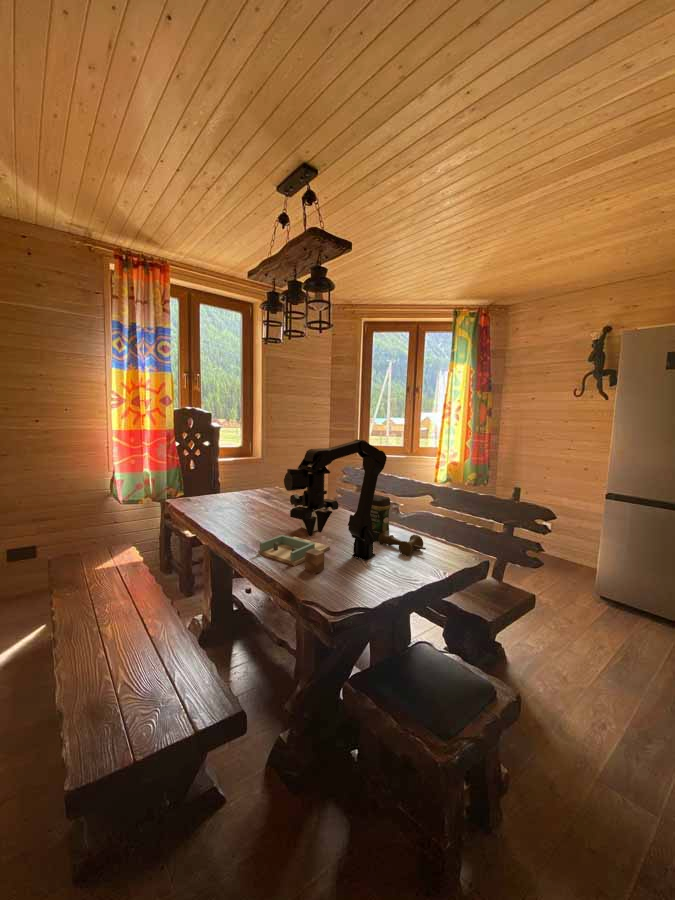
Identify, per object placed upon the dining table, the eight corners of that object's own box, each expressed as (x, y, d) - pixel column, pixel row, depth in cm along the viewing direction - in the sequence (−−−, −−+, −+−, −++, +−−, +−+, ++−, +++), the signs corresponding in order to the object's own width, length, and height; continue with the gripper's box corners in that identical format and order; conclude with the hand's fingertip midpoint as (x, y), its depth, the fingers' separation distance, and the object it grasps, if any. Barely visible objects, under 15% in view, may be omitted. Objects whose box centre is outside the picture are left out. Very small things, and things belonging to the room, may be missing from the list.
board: (329, 549, 143) (329, 539, 143) (294, 565, 127) (294, 555, 127) (294, 539, 153) (294, 530, 153) (258, 553, 137) (258, 543, 137)
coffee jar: (362, 538, 157) (363, 494, 155) (374, 534, 163) (375, 492, 161) (380, 543, 150) (382, 498, 148) (392, 539, 156) (393, 495, 154)
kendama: (387, 542, 154) (432, 553, 141) (374, 548, 147) (419, 560, 134) (387, 528, 154) (432, 537, 141) (373, 534, 146) (419, 544, 134)
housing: (314, 551, 137) (314, 543, 136) (293, 561, 127) (293, 552, 127) (282, 542, 146) (282, 534, 146) (259, 550, 137) (259, 542, 136)
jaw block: (324, 569, 125) (324, 551, 124) (316, 573, 121) (316, 555, 121) (312, 565, 128) (312, 548, 127) (304, 569, 124) (305, 551, 124)
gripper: (314, 480, 134) (313, 523, 136) (277, 488, 119) (277, 536, 120) (339, 484, 128) (338, 529, 129) (304, 493, 113) (303, 543, 114)
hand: (315, 534), depth 123 cm, fingers open, 5 cm apart
